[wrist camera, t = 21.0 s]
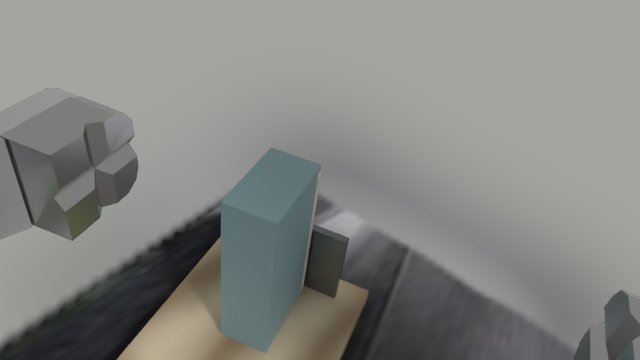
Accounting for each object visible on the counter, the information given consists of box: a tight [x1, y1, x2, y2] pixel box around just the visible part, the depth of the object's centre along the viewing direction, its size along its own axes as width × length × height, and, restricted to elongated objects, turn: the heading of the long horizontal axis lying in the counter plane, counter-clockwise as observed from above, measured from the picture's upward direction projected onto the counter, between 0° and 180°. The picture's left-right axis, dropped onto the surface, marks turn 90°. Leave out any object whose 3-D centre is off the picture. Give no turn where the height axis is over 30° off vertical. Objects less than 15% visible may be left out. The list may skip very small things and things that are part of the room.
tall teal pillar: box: [221, 148, 321, 353], centre depth 39 cm, size 4×7×14 cm, turn 157°
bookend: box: [304, 225, 349, 298], centre depth 45 cm, size 10×2×7 cm, turn 67°
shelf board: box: [117, 237, 369, 360], centre depth 41 cm, size 15×20×2 cm
